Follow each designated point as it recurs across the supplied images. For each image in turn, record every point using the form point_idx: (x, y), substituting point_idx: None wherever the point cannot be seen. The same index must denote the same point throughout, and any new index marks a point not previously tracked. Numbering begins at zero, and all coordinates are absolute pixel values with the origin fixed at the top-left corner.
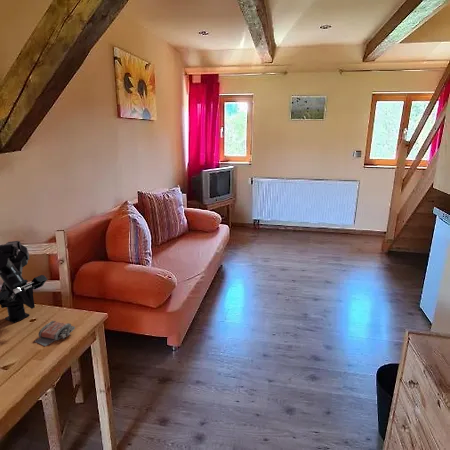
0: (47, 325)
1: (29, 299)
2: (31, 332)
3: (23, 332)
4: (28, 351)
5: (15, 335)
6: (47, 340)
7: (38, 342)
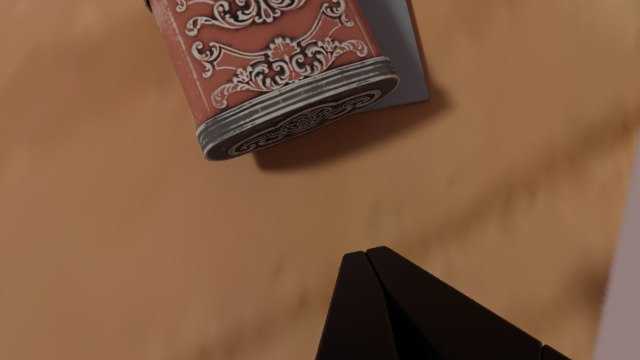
0: (301, 83)
1: (447, 353)
2: None
3: None
4: (505, 13)
5: None
6: None
7: (416, 53)
